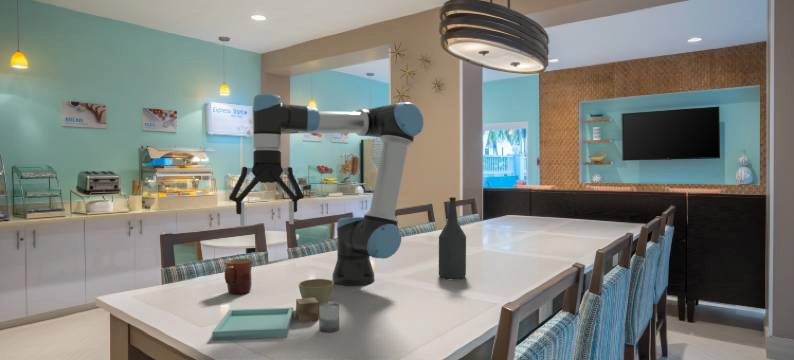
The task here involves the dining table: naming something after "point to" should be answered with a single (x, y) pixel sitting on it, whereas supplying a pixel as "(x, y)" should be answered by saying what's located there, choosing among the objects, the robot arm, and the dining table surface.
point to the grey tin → (329, 317)
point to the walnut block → (307, 309)
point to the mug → (238, 275)
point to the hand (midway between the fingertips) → (267, 225)
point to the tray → (254, 324)
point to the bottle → (452, 247)
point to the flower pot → (316, 289)
